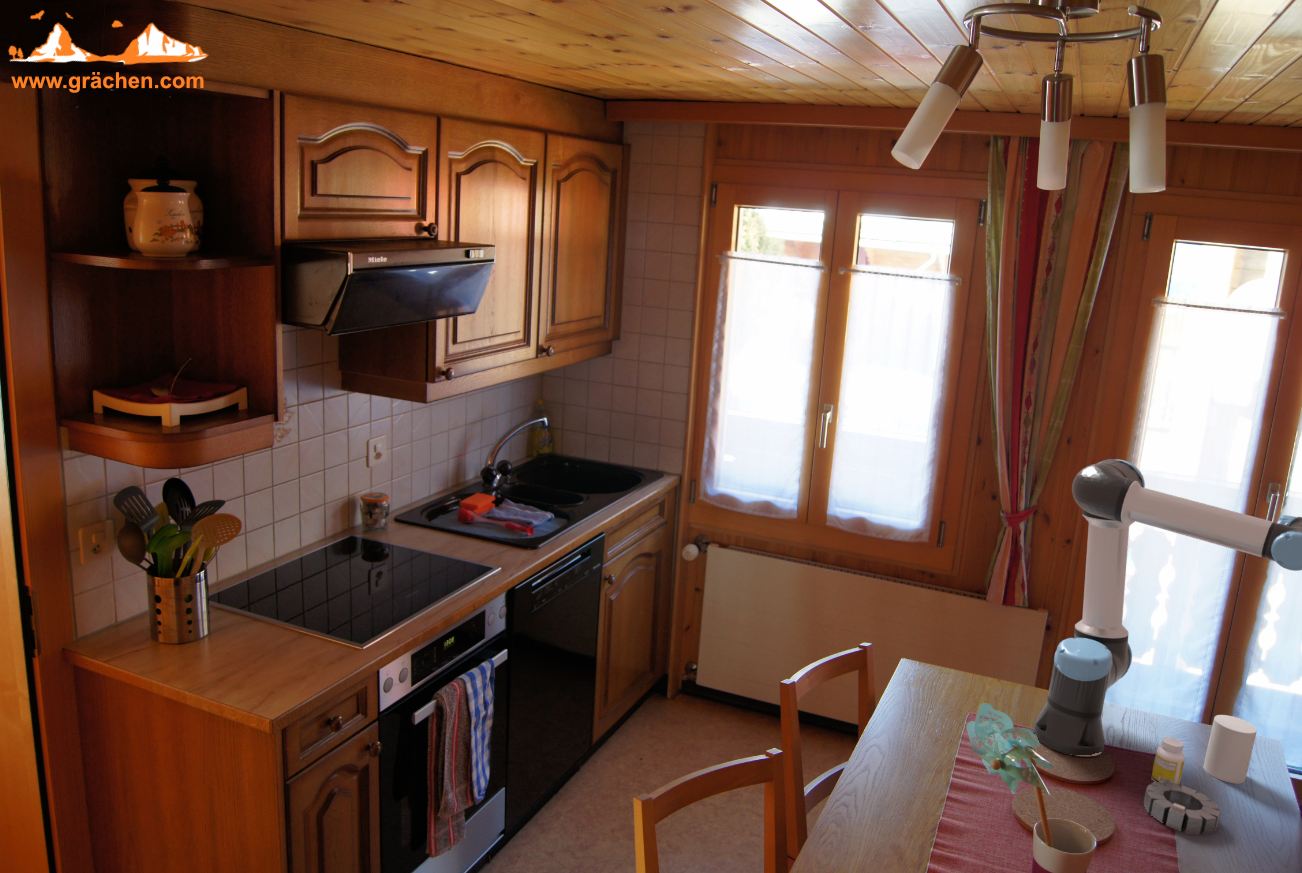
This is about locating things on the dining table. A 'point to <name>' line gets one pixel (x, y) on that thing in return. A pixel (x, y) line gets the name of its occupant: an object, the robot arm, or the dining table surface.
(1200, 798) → the grey segmented ring
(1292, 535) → the robot arm
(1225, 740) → the white cylinder
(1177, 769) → the supplement bottle
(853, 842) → the dining table surface
